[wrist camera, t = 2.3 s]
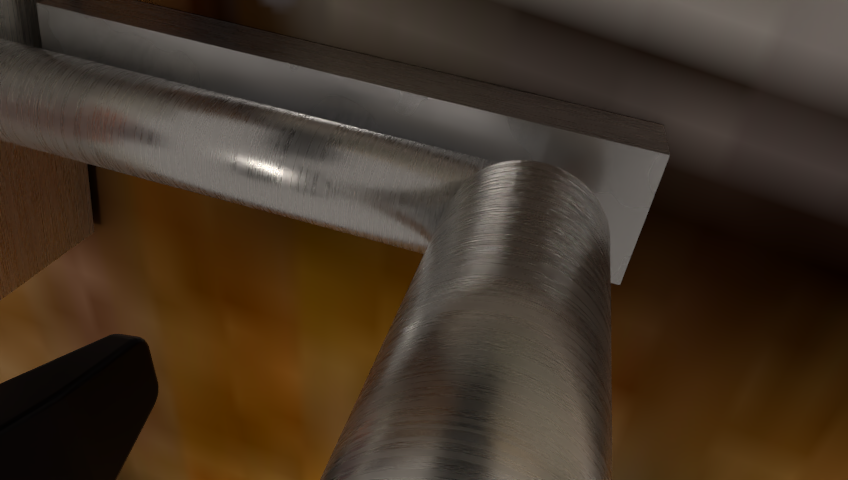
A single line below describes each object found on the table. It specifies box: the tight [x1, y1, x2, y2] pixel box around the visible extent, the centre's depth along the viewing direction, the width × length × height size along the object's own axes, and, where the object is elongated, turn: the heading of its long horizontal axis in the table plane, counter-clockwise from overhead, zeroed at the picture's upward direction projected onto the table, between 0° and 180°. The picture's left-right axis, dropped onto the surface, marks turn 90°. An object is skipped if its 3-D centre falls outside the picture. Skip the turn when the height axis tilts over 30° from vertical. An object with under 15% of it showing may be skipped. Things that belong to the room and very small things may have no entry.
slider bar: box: [0, 0, 612, 480], centre depth 10 cm, size 14×10×13 cm
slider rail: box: [36, 0, 670, 285], centre depth 15 cm, size 13×3×2 cm, turn 80°
